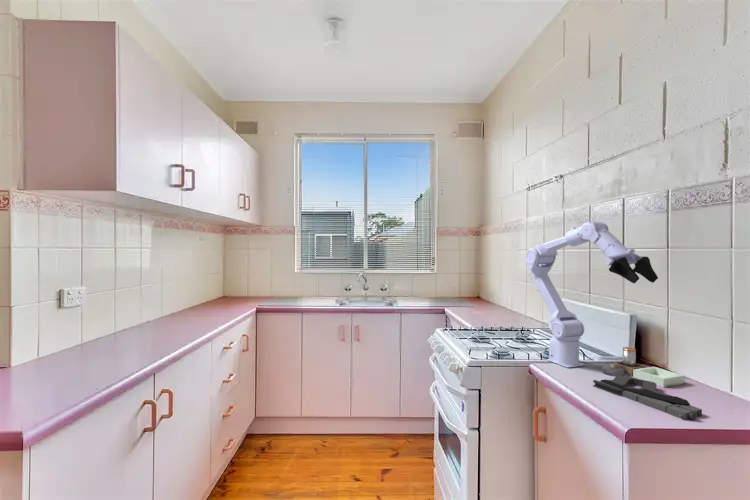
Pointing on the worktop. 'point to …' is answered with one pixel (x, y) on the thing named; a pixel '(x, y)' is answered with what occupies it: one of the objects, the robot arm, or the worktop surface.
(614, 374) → the brown open box
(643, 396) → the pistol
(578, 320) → the robot arm
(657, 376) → the tray
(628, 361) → the glass jar
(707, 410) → the worktop surface
